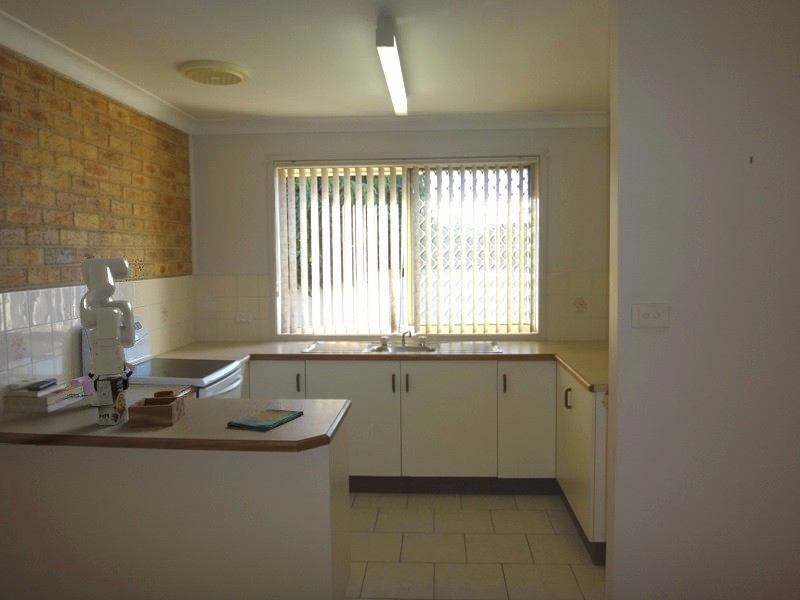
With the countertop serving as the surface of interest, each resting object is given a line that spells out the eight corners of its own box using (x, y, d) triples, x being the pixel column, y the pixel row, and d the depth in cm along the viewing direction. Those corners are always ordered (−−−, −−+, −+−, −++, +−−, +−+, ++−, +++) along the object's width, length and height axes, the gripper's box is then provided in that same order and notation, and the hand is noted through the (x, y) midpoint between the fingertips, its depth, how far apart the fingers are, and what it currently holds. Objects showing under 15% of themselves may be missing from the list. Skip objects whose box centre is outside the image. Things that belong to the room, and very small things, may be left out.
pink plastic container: (111, 386, 292) (110, 372, 292) (125, 389, 285) (124, 374, 284) (68, 394, 276) (67, 379, 276) (82, 397, 269) (81, 381, 268)
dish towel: (225, 428, 212) (225, 421, 212) (266, 412, 234) (266, 406, 233) (266, 433, 205) (266, 425, 205) (305, 416, 226) (304, 409, 226)
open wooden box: (143, 416, 230) (142, 398, 230) (184, 414, 232) (183, 396, 231) (129, 427, 216) (127, 407, 215) (172, 425, 217) (171, 405, 216)
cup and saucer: (169, 412, 237) (168, 396, 237) (141, 411, 240) (140, 395, 239) (186, 404, 249) (185, 389, 249) (159, 404, 251) (158, 389, 251)
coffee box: (116, 425, 219) (113, 380, 218) (98, 425, 219) (95, 380, 218) (128, 418, 228) (125, 375, 227) (110, 419, 228) (108, 376, 227)
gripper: (79, 345, 217) (82, 393, 218) (129, 343, 218) (132, 391, 219) (88, 343, 225) (91, 389, 225) (137, 340, 226) (140, 387, 227)
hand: (111, 390), depth 222 cm, fingers open, 9 cm apart
